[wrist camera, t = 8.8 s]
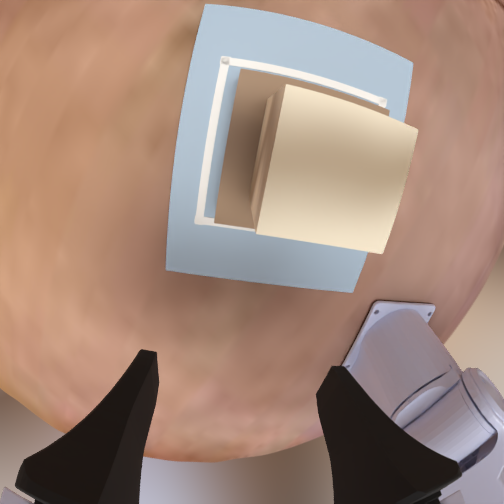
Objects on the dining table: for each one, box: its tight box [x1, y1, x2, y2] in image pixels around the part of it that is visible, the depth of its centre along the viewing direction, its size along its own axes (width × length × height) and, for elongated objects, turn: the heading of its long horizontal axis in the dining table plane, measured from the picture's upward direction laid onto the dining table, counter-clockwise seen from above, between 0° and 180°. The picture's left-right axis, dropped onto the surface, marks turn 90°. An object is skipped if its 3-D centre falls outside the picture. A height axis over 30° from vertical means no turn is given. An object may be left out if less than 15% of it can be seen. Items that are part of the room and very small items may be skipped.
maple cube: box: [249, 84, 418, 254], centre depth 11 cm, size 5×5×5 cm
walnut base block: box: [214, 69, 390, 229], centre depth 15 cm, size 8×8×3 cm
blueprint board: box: [166, 4, 413, 293], centre depth 16 cm, size 18×14×1 cm
